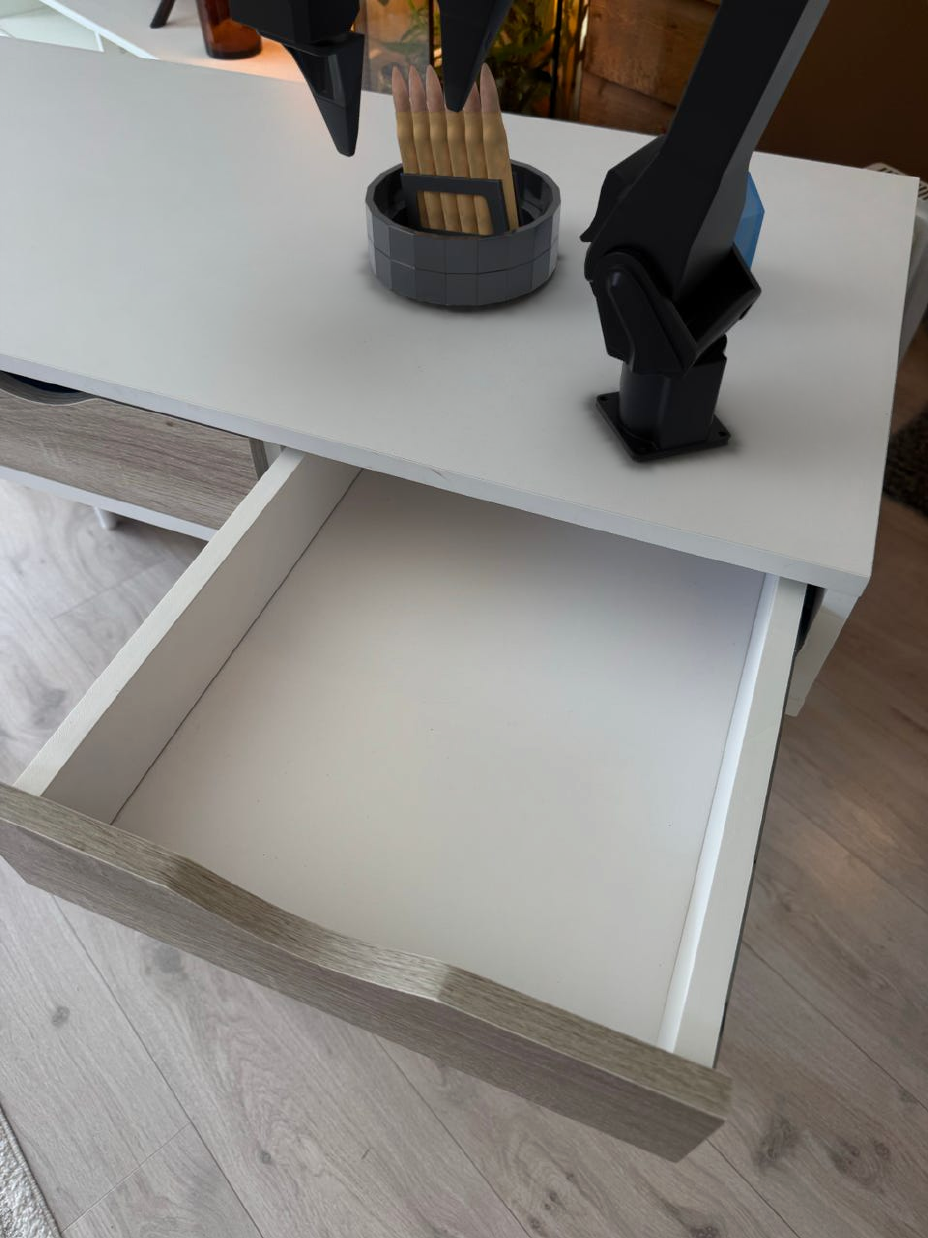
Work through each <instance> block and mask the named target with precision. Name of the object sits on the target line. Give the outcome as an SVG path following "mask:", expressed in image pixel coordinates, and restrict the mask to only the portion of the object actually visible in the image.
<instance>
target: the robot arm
mask: <svg viewBox="0 0 928 1238" xmlns="http://www.w3.org/2000/svg"><path fill="white" fill-rule="evenodd" d="M514 1H515V0H435V2H436V4H437V6H438V11H439V31H440V53H441V75H442V85H443V86H442V87H443V97H444V96H445V101H444V103H446V108H447V109H448V110H450V111H453V112H456V113H458V112H460V111H462V110H463V107H464V105H465V103H466V101H467V98H468V96H469V94H470V92H471V89H472V87H473V85H474V82H476V80H477V78H478V76H479V73H480V72H481V70H482V66H483V63H485V60H486V57H487V55H488V54H489V51H490V50H491V47H492V44H493V43H494V41H495V38H496V36H497V34H498V32H499V30H500V29H501V27H502V24H503V23H504V21H505V18H506V17H507V15H508V13H509V12H510V9H511V7H512V6H513V3H514ZM830 1H831V0H720V2H719V3H720V4H719V5H718V8H717V10H716V13H715V15H714V18H713V20H712V23H711V25H710V28H709V30H708V31H707V34H706V37H705V39H704V41H703V44H702V47H701V48H700V51H699V53H698V57H697V59H696V61H695V64H694V65H693V67H692V70H691V72H690V75H689V77H688V79H687V83H686V85H685V87H684V89H683V92H682V94H681V97H680V98H679V102H678V104H677V106H676V109H675V111H674V113H673V116H672V118H671V121H670V123H669V125H668V128H667V130H666V133H665V134H664V133H661V134H660V135H658V136H657V137H655V138H654V139H652V140H650V141H649V142H648V143H646V144H645V145H643V146H642V147H641V148H639V149H638V150H636V151H634V152H633V153H631V154H630V155H628V156H626V158H624V159H622V160H621V161H619V162H618V163H617V164H615V165H614V166H612V167H611V168H610V169H608V170H607V172H606V175H605V177H604V180H603V182H602V185H601V187H600V192H599V197H598V202H597V207H596V209H595V214H594V217H593V219H592V220H591V222H590V223H589V226H588V227H587V228H586V229H585V230H584V231H583V232H581V234H580V235H579V240H580V242H581V243H590V244H589V245H588V247H587V249H586V252H585V257H584V262H583V277H584V279H585V281H586V282H588V284H589V287H590V289H591V292H592V295H593V296H594V298H595V302H596V306H597V312H598V316H599V321H600V327H601V330H602V335H603V340H604V345H605V351H606V353H607V355H608V356H609V357H612V358H613V359H616V360H619V361H622V366H621V372H620V379H619V390H617V391H612V392H608V393H607V392H606V393H602V394H599V395H597V396H596V399H595V405H596V407H597V409H598V410H599V411H600V413H601V416H603V418H604V419H605V421H606V422H607V423H608V425H609V426H610V428H611V429H612V431H613V433H614V435H616V438H617V439H618V440H619V442H620V443H621V445H622V446H623V448H624V449H625V450H626V452H627V453H628V455H629V457H630V458H631V459H632V460H634V461H637V462H643V461H648V460H653V459H658V458H663V457H669V456H673V455H678V454H682V453H688V452H693V451H697V450H702V449H703V450H704V449H708V448H712V447H717V446H724V445H726V444H728V443H729V442H730V440H731V433H730V431H729V430H728V429H727V427H726V426H725V425H724V423H722V421H721V420H720V419H719V418H718V416H717V415H716V413H715V411H716V408H717V404H718V399H719V395H720V392H721V387H722V384H723V383H722V382H723V379H724V374H725V369H726V367H727V362H728V357H727V356H726V355H725V354H726V350H727V346H728V336H727V335H726V334H727V333H728V332H729V331H730V330H731V329H732V328H733V327H734V326H735V325H736V324H737V323H738V322H740V321H742V320H743V319H744V318H745V317H746V316H747V314H748V313H749V311H750V310H751V309H752V307H753V306H754V304H755V303H756V302H757V300H758V299H759V297H760V296H761V295H762V288H761V286H760V284H759V282H758V280H757V279H756V277H755V275H754V274H753V271H752V269H751V270H750V268H749V267H748V265H747V263H746V262H745V260H744V258H743V256H742V255H741V253H740V251H739V249H738V248H737V246H736V244H735V243H734V241H733V240H734V237H735V234H736V231H737V228H738V225H739V222H740V219H741V216H742V213H743V210H744V207H745V203H746V195H747V184H748V174H749V172H750V164H751V161H752V156H753V154H754V152H755V149H756V147H757V145H758V143H759V141H760V139H761V138H762V136H763V133H764V131H765V130H766V128H767V126H768V124H769V121H770V119H771V117H772V116H773V114H774V112H775V110H776V108H777V106H778V104H779V102H780V100H781V98H782V96H783V94H784V92H785V90H786V88H787V86H788V84H789V82H790V80H791V78H792V77H793V74H794V72H795V70H796V68H797V66H798V64H799V63H800V61H801V59H802V56H803V54H804V53H805V51H806V49H807V46H808V45H809V43H810V41H811V39H812V37H813V35H814V33H815V31H816V29H817V27H818V26H819V23H820V21H821V19H822V17H823V15H824V13H825V11H826V9H827V7H828V5H829V3H830ZM228 5H229V6H228V7H229V11H230V12H229V13H230V18H231V21H232V22H233V23H237V24H239V25H242V26H245V27H248V28H251V29H253V30H255V31H256V32H257V35H259V36H260V37H262V38H264V39H268V40H270V41H272V42H275V43H279V44H280V45H281V46H282V47H283V48H284V49H285V50H286V52H288V54H289V55H290V57H291V58H292V59H293V61H294V62H295V65H296V66H297V67H298V70H299V71H300V73H301V75H302V76H303V78H304V80H305V81H306V84H307V86H308V88H309V90H310V92H311V94H312V97H313V99H314V101H315V103H316V106H317V108H318V111H319V113H320V115H321V117H322V119H323V122H324V124H325V127H326V129H327V131H328V133H329V135H330V137H331V140H332V143H333V144H334V146H335V148H336V150H337V152H338V153H339V154H340V155H342V156H344V157H346V158H351V157H354V155H355V153H356V148H357V143H358V136H359V129H360V115H361V114H360V113H361V100H362V85H363V71H364V60H365V59H364V57H365V44H366V35H365V33H362V32H359V31H356V30H354V29H352V28H353V25H354V23H355V22H356V19H357V17H358V15H359V13H360V11H361V2H360V0H228Z"/></svg>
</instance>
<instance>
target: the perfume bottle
mask: <svg viewBox="0 0 928 1238" xmlns="http://www.w3.org/2000/svg"><path fill="white" fill-rule="evenodd" d="M765 212H766V210H765V208H764V205H763V202H762V199H761V197H760V194H759V192H758V189H757V187H756V184H755V181H754V179H753V176H752V173H751V172H750V171H749V174H748V184H747V195H746V203H745V207H744V210H743V213H742V216H741V219H740V222H739V225H738V228H737V231H736V234H735V237H734V240H733V241H734V243H735V244H736V246H737V248H738V249H739V251H740V253H741V255H742V256H743V258H744V260H745V262H746V263H747V265H748V267H749V268H750V270H751V271H752V267H753V263H754V258H755V255H756V250H757V245H758V242H759V237H760V234H761V229H762V225H763V221H764V216H765Z"/></svg>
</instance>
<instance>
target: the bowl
mask: <svg viewBox="0 0 928 1238" xmlns="http://www.w3.org/2000/svg"><path fill="white" fill-rule="evenodd" d="M510 163H511V171H512V172H516V176H517V183H518V189H519V196H520V203H521V209H522V216H523V222H524V226H522V227H519V228H516V229H513V230H510V231H507V232H504V233H497V234H490V235H483V236H443V235H436V234H430V233H424V232H418V231H415V230H413V229H410V227H409V222H408V216H407V210H406V204H405V199H404V193H403V187H402V181H401V176H400V174H401V173H402V172H404V169H403V164H402V162H400V163H398V164H396V165H394V166H391V167H390V168H388V169H386V170H384V171H382V172H381V173H380V172H379V174H378V175H376V177H375V178H374V179H373V180H372V181H371V182H370V183H369V184H368V186H367V188H366V193H365V198H364V206H365V218H366V231H367V232H366V233H367V244H368V255H369V264H370V266H371V269H372V271H373V272H374V275H375V277H376V278H377V279H378V280H379V281H380V282H382V283H383V284H384V285H385V286H387V287H388V288H389V289H391V290H392V291H393V292H395V293H398V294H400V295H403V296H405V297H408V298H410V299H412V300H415V301H419V302H425V303H430V304H436V305H442V306H451V307H452V306H454V307H474V306H484V305H490V304H496V303H501V302H502V303H503V302H507V301H510V300H512V299H515V298H519V297H520V296H523V295H527V294H529V293H531V292H533V291H534V290H536V289H537V288H538V287H540V286H541V285H543V284H544V283H545V282H547V281H548V280H549V279H550V277H551V275H552V273H553V271H554V270H555V268H556V266H557V259H558V248H559V247H558V246H559V234H560V221H561V208H562V197H561V196H562V195H561V189H560V187H559V186H558V185H557V183H556V182H555V181H554V180H553V179H552V177H551V176H550V175H548V174H547V173H545V172H544V171H541V170H540V169H538V168H537V167H535V166H533V165H530V164H528V163H525V162H521V161H518V160H515V159H512V158H510Z"/></svg>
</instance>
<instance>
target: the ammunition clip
mask: <svg viewBox="0 0 928 1238" xmlns="http://www.w3.org/2000/svg"><path fill="white" fill-rule="evenodd" d="M409 67H410V68H409V71H408V88H407V84H406V81H405V79H404V77H403V75H402V73H401V71H400V69H399V68H398V66H397V65H394V66H393V68H392V74H391V90H392V91H391V92H392V100H393V106H394V112H395V113H394V115H395V121H396V135H397V136H396V137H397V141H398V147H399V152H400V157H401V163H402V164H403V169H404V172H402V173H401V174H400V176H401V181H402V187H403V193H404V199H405V204H406V210H407V216H408V222H409V227H410V229H413V230H415V231H418V232H424V233H430V234H436V235H443V236H483V235H490V234H497V233H504V232H507V231H510V230H513V229H516V228H519V227H522V226H524V222H523V216H522V209H521V203H520V196H519V189H518V183H517V176H516V172H512V171H511V163H510V159H511V158H510V150H509V141H508V136H507V131H506V128H505V124H504V122H503V115H502V110H501V106H500V100H499V95H498V90H497V86H496V85H497V84H496V81H495V79H494V76H493V74H492V71H491V68H490V66H489V65H488V64H487V62H483V64H482V67H481V69H480V81H479V82H480V83H479V88H478V86H477V82H476V81H475V82H474V85H473V87H472V89H471V92H470V94H469V96H468V98H467V101H466V103H465V105H464V107H463V110H462V111H460V112H458V113H456V112H453V111H450V110H448V109H447V108H446V103H445V96H444V92H443V89H442V86H441V83H440V80H439V77H438V75H437V72H436V71H435V69H434V67H433V65H432V64H428V65H427V67H426V73H425V74H426V76H425V78H426V79H425V88H424V85H423V81H422V79H421V77H420V75H419V72H418V70H417V69H416V67H415V65H413V64H411V65H410V66H409ZM425 89H426V90H425ZM478 89H479V90H478ZM479 91H480V92H479ZM479 93H480V94H479Z"/></svg>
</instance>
